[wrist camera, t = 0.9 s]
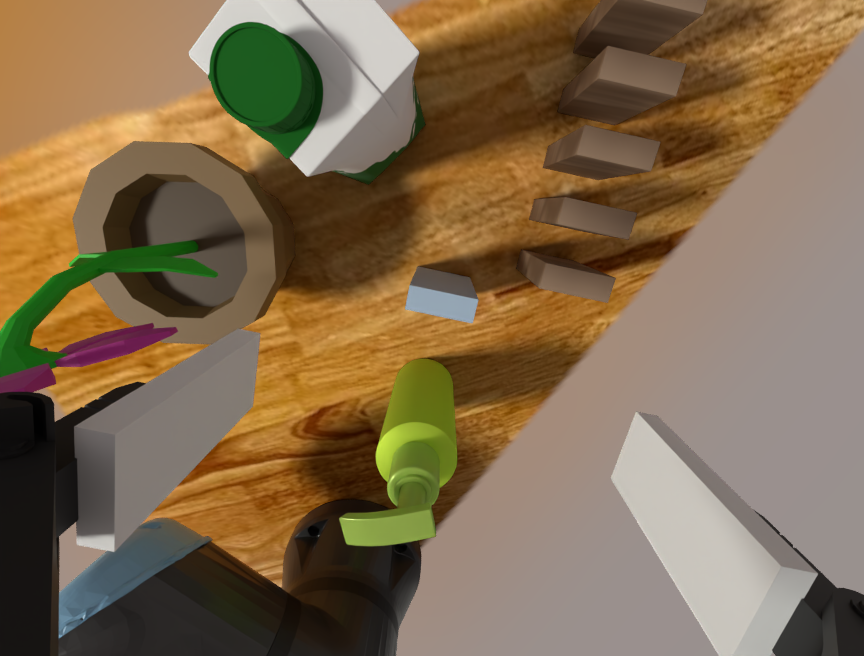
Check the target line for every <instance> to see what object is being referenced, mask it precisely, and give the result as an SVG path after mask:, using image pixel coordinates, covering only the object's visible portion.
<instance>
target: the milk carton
mask: <svg viewBox="0 0 864 656" xmlns="http://www.w3.org/2000/svg"><path fill="white" fill-rule="evenodd" d="M189 56H190V58H191V59H192V60H193V61H194V62H195V63H196V64H197V65H198V66H199V67H200V68H201V69H202V70H203V71H204V72H205V73H206V74H207V75H208V78H209V80H210V81H211V84H212V88H213V90H214V93H215V95H216V97H217V99H218V101H219V102H220V104H221V105H222V107H223V108H224V109H225V110H226V111H227V113H229V114H230V115H231V116H233V117H234V118H235V119H237V120H238V121H239V122H241V123H243V124H246V125H247V126H248V127H249V128H250V129H252V130H253V131H254V132H255V133H256V134H258V135H259V136H261V137H262V138H264V139H265V140H267V141H269V142H270V143H272V144H273V145H274V146H275V147H276V148H277V150H278V151H279V152H280V153H281V154H282V155H283V156H284V157H285V158H286V159H288V158H289V159H290V160H291V161H292V162H293V163H294V164H295V165H296V166H297V167H298V168H299V169H300V170H301V171H302V172H303V173H304V174H305V175H306V176H307V177H309V176H313V175H317V174H321V173H325V172H329V171H333V172H336V173H339V174H342V175H345V176H347V177H350V178H353V179H355V180H358V181H360V182H363V183H366V184H368V185H369V184H370V183H371V182H372V181H373V180H374V179H375V178H376V177H378V176H379V175H380V174H381V173H382V172H383V171H384V170H385V169H386V168H387V167H388V166H389V165H390V164H391V163H392V162H393V161H394V160H395V159H396V158H397V157H398V156H399V155H400V154H401V153H402V152H403V151H404V150H405V149H406V148H407V146H408V145H409V144H410V143H411V142H412V141H413V139H414V138H415V137H416V136H417V134H418V133H419V132H420V130H421V129H422V128H423V127H424V126H425V125H426V124H425V121H424V117H423V113H422V110H421V106H420V102H419V98H418V94H417V91H416V87H415V83H414V78H413V73H414V70H415V66H416V63H417V59H418V56H419V51H418V50H417V48H416V47H415V46H414V45H413V44H412V43H411V41H410V40H409V39H408V38H407V37H406V36H405V34H404V33H403V32H402V31H401V30H400V29H399V27H398V26H397V25H396V24H395V23H394V22H393V20H392V19H391V18H390V17H389V16H388V15H387V13H386V12H385V11H384V10H383V9H382V8H381V6H380V5H379V4H378V3H377V2H376V1H375V0H226V2H225V3H224V4H223V6H222V7H221V9H220V10H219V11H218V13H217V14H216V15H215V17H214V18H213V20H212V21H211V22H210V24H209V25H208V27H207V28H206V29H205V30H204V32H203V33H202V34H201V36H200V37H199V39H198V40H197V42H196V43H195V44H194V45H193V47H192V48H191V50H190V51H189Z"/></svg>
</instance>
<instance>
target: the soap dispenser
mask: <svg viewBox="0 0 864 656" xmlns="http://www.w3.org/2000/svg"><path fill="white" fill-rule="evenodd" d="M376 464H377V467H378V470H379V472H380V474H381V476H382V477H383V478H384V479H385V480H386V482H388V484H387V492H388V496H389V498H390V500H391V501H392V502H393V503H394V504H395V505H396V506H397V509H391V510H385V511H378V512H369V513H346V514H344V515H343V516H341V517H340V518H339V520H340V524H341V527H342V531H343V534H344V538H345V541H346V544H348V545H356V546H385V545H394V544H400V543H406V542H412V541H417V540H422V539H427V538H432V537H436V527H435V522H434V518H433V513H432V508H431V506H432V505H433V504H434V503H435V501H436V500H437V498H438V495H439V488H440V487H442V486H443V485H445V484H446V483H447V482H448V481H449V480H450V478H451V477H452V475H453V474H454V471H455V469H456V465H457V444H456V427H455V410H454V392H453V381H452V377H451V375H450V373H449V371H448V370H447V369H446V368H445V367H444V366H443V365H442V364H440V363H439V362H437V361H434V360H431V359H417V360H413V361H411V362H409V363H407V364H406V365H404V366H403V367H402V368H401V369H400V371H399V372H398V374H397V377H396V380H395V383H394V387H393V391H392V394H391V398H390V402H389V405H388V409H387V413H386V416H385V420H384V424H383V427H382V431H381V435H380V438H379V442H378V446H377V450H376Z"/></svg>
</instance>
